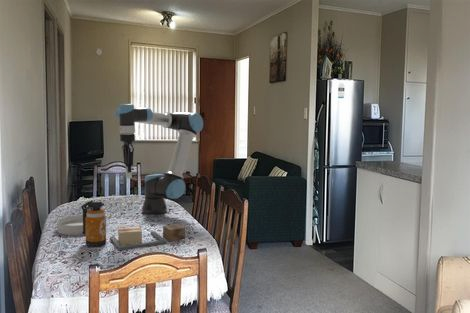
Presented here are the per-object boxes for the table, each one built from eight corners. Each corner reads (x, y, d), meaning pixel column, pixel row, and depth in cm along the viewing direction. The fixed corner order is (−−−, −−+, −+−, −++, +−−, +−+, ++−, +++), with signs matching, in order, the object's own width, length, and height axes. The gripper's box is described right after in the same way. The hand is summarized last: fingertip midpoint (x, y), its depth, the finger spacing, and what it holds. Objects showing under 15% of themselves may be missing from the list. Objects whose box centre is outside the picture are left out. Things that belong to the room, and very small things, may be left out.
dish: (75, 238, 194) (75, 228, 194) (47, 230, 206) (47, 221, 205) (111, 227, 213) (111, 218, 212) (84, 221, 224) (84, 212, 224)
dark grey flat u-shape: (154, 233, 204) (154, 230, 204) (166, 243, 188) (166, 241, 188) (109, 238, 193) (109, 236, 193) (118, 250, 178) (118, 247, 177)
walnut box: (177, 235, 202) (177, 223, 201) (185, 239, 195) (185, 227, 195) (163, 237, 197) (163, 225, 197) (170, 242, 191) (170, 230, 190)
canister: (99, 247, 180) (99, 203, 178) (77, 245, 183) (76, 202, 180) (109, 241, 189) (109, 199, 187) (88, 239, 191) (87, 198, 189)
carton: (139, 238, 196) (139, 226, 195) (141, 243, 188) (141, 230, 187) (118, 240, 192) (118, 227, 191) (119, 245, 185) (119, 232, 184)
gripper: (116, 133, 214) (118, 176, 217) (123, 134, 203) (125, 180, 206) (130, 132, 218) (132, 175, 221) (138, 134, 207) (139, 179, 210)
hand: (128, 178), depth 213 cm, fingers closed
